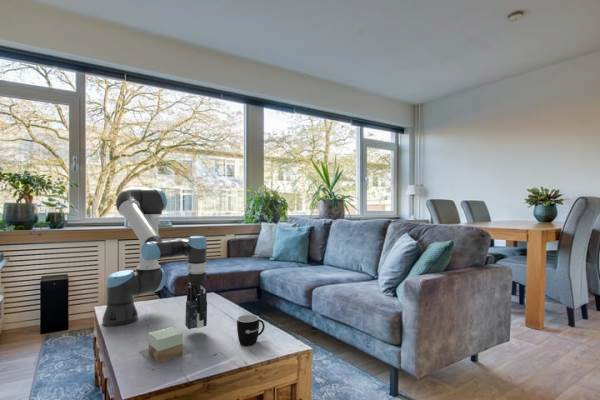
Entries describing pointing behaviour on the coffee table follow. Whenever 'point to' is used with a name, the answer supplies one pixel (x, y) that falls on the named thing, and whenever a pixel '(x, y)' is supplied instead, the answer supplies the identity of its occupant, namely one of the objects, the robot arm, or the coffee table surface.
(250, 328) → the mug
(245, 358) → the coffee table surface
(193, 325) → the box
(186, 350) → the felt mat
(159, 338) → the tower top
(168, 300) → the coffee table surface
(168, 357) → the tower bottom
